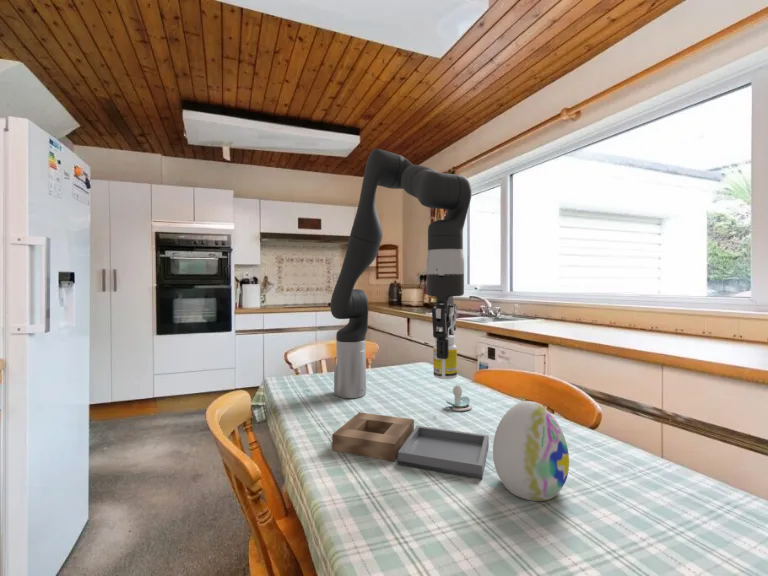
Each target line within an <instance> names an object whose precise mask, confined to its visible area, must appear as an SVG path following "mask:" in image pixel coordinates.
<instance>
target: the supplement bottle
mask: <svg viewBox="0 0 768 576" xmlns="http://www.w3.org/2000/svg"><path fill="white" fill-rule="evenodd" d="M434 343H435V344H434V345H433V349H432V350H433V352H432V353H433V354H432V355H433V358H432V359H433V376H434V377H435V378H436V379H439V380H440V379H441V380H454V379H456V378H457V377H458V348H457V345H456V344H455V343H456V335H455V334H454V335H449V339H448V358H447V359H439V358H437V339H436V338H434Z"/></svg>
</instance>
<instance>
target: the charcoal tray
mask: <svg viewBox="0 0 768 576" xmlns="http://www.w3.org/2000/svg"><path fill="white" fill-rule="evenodd" d="M489 438H490V436H489V435H487V434H482V433H481V434H480V433H475V432H468V431H467V432H465V431H458V430H450V429H445V428H436V427H430V426H429V427H427V426H422V425H416V426H415V427H414V430H413V432H412V433H411V435H410V436H409V437H408V439H407V440H406V442H405V443H404V444H403V446H402V447H401V449H400V450H399V451H398V458H397V465H398V466H403V467H404V466H405V467H408V468H414V469H415V468H416V469H421V470H427V471H432V472H438V473H444V474H450V475H455V476H460V477H467V478H471V479H472V478H473V479H479V480H483V477H484V471H485V467H486V462H487V457H488V451H489V447H490V446H489V443H490V442H489Z"/></svg>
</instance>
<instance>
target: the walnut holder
mask: <svg viewBox="0 0 768 576" xmlns="http://www.w3.org/2000/svg"><path fill="white" fill-rule="evenodd" d="M414 429H415V419H413V418H406V417H399V416H390V415H382V414H373V413H367V412H360V411H359V412H358V413H356V415H354V416H353V417H352V418H350V419H349V420H348V421H347V422H346V423H344V424H343V425H342V426H341V427H339V428H337V430H336V431H334V432H333V433H332V434H331V436H332V437H331V440H332V441H331V444H332V445H331V447H332V448H331V450H332V452H338V453H342V454H343V453H344V454H350V455H355V456H361V457H366V458H367V457H368V458H371V459H373V458H374V459H379V460H384V461H390V462H396V461H397V460H398V451H399V450H400V449H401V447H402V446H403V444H404V443H405V442H406V440H407V439H408V437H409V436H410V435H411V433H412V432H413V430H414Z"/></svg>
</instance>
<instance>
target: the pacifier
mask: <svg viewBox="0 0 768 576" xmlns="http://www.w3.org/2000/svg"><path fill="white" fill-rule="evenodd" d="M452 393H453V396H454V402H453V401H447V400H446V401H445V402H446V403H447V404H448V405H450V406H452V408H451V409H452V410H453V411H456V412H465V411H469V410H471V409H473V406H472V404H470V402H471V400H470V398H469V397H467V396H462V395H463V389H462V388H461V386H460V385H454V386H453V389H452Z"/></svg>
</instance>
